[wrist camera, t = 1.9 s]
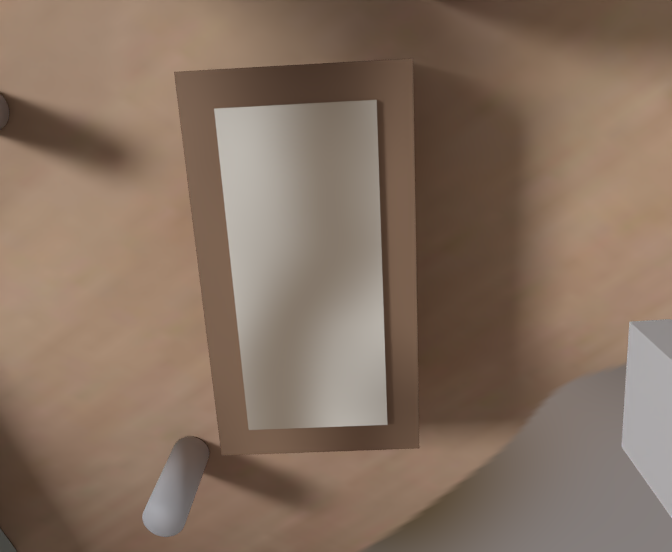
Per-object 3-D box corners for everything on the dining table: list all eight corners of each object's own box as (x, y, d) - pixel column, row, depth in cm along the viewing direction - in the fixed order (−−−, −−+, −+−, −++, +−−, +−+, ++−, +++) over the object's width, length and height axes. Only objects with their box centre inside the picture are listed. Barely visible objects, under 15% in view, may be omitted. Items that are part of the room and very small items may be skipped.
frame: (243, 389, 28) (220, 458, 23) (209, 71, 24) (172, 71, 19) (406, 382, 27) (420, 451, 22) (399, 60, 23) (413, 58, 18)
